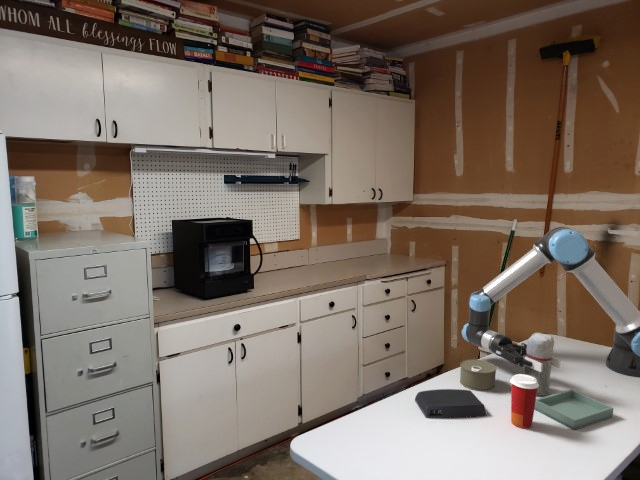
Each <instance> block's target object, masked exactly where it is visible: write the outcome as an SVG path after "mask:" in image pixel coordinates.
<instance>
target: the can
mask: <svg viewBox="0 0 640 480" xmlns="http://www.w3.org/2000/svg"><path fill="white" fill-rule="evenodd" d="M496 373H497V366H496V365H495V364H493V363H491V362H489V361H486V360H482V359H476V358H471V359H470V358H469V359H464V360H462V361H460V376H459V377H460V378H459V383H460V385H461V386H462V385H463V388H466V389H467V390H470V391H475V392H490V391H492V390H494V389H495V385H496Z"/></svg>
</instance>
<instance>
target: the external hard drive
mask: <svg viewBox="0 0 640 480" xmlns="http://www.w3.org/2000/svg"><path fill="white" fill-rule="evenodd" d="M414 401H415V403H416V405H417V407H418V408H419V410H420V411H421V413H422V415H423V416H424V418H426V419H469V418H470V419H471V418H481V417H483V418H484V417H487V416H488V414H487V409H486V407H485V404H483V403H482V401H481V400H480V399H479V398H478V397H477V396H476V395H475V394H474V393H473V392H472V390H471V389H461V388H460V389H456V388H443V389H442V388H438V389H429V390H421V391H418V392H417V394H416V395H415V397H414Z"/></svg>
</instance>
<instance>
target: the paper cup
mask: <svg viewBox="0 0 640 480" xmlns="http://www.w3.org/2000/svg"><path fill="white" fill-rule="evenodd" d="M524 374H525V373H523V374H522V373H518V374H517V373H516V374H514V375H513V376H512V377H510V378H511V379H510V380H509V382H510V383H511V385H510V386H511V387H510V388H511V393H510V395H511V396H510V397H511V400H510V403H511V404H510V415H511V416H510V419H511V420H510V422H511V424H512V425H513V426H514V427H517V428H519V429H525V430H526V429H531V428H532V426H533V420H534V415H535V410H534V408H535V401H536V399H537V395H536V394H537V388H538V387H539V384H538V382H537V380H536V378H534V377H532V376H529V375H524Z"/></svg>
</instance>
